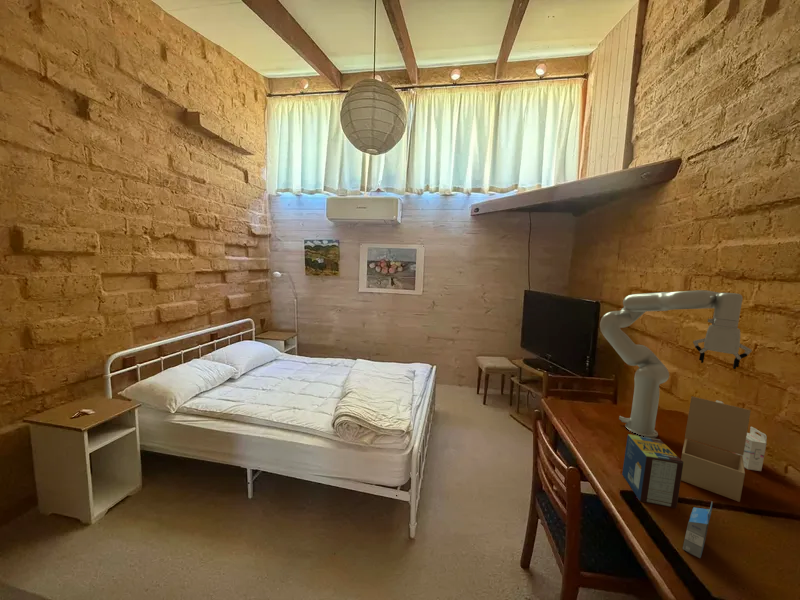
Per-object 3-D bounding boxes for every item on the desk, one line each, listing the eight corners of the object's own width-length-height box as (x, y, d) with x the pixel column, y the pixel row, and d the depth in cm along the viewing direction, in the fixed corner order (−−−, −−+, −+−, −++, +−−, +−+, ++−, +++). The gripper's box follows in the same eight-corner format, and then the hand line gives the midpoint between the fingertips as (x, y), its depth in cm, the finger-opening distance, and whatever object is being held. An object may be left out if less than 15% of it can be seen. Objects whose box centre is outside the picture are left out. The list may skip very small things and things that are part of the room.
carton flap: (691, 396, 135) (692, 394, 140) (684, 437, 135) (685, 434, 140) (750, 410, 124) (749, 407, 129) (743, 455, 124) (741, 451, 129)
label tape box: (687, 533, 97) (694, 493, 96) (706, 542, 94) (713, 501, 93) (681, 549, 91) (689, 506, 90) (702, 560, 88) (709, 515, 87)
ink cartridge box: (730, 457, 142) (736, 423, 141) (744, 459, 141) (751, 425, 140) (747, 469, 134) (753, 433, 133) (762, 471, 133) (769, 435, 132)
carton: (677, 479, 124) (682, 452, 123) (681, 462, 136) (685, 438, 135) (739, 501, 113) (744, 473, 112) (737, 481, 125) (742, 455, 124)
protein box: (654, 480, 123) (660, 438, 121) (677, 509, 108) (684, 462, 106) (621, 474, 125) (627, 433, 123) (639, 501, 110) (646, 455, 109)
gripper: (696, 320, 140) (689, 361, 142) (756, 328, 129) (748, 372, 130) (696, 319, 146) (690, 359, 147) (755, 326, 134) (747, 369, 136)
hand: (717, 365), depth 139 cm, fingers open, 9 cm apart
